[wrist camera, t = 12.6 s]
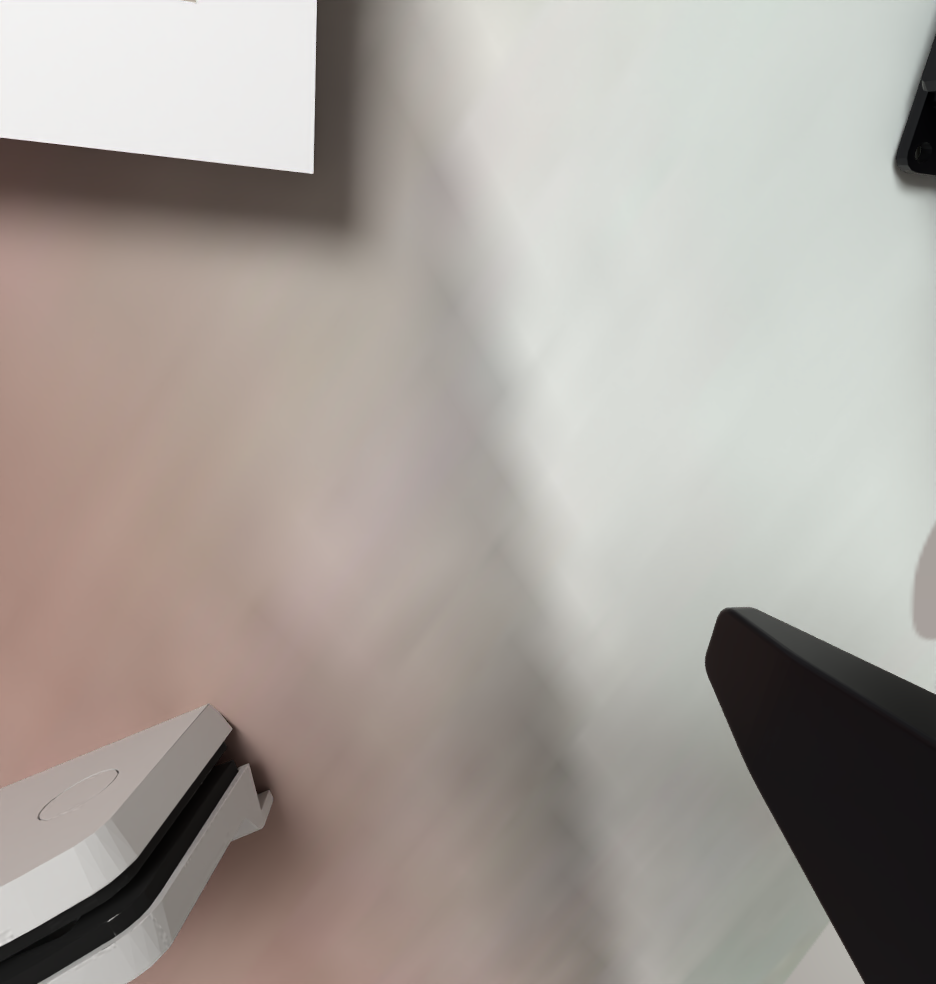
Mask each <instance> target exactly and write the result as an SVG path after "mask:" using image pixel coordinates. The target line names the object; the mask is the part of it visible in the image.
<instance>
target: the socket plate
mask: <svg viewBox="0 0 936 984" xmlns="http://www.w3.org/2000/svg"><path fill="white" fill-rule="evenodd" d="M316 16H317V0H196V3H194V2H188V1H182V0H0V137H1V138H10V139H18V140H27V141H35V142H44V143H53V144H61V145H70V146H78V147H87V148H96V149H104V150H113V151H121V152H130V153H138V154H147V155H156V156H164V157H173V158H181V159H190V160H199V161H207V162H216V163H224V164H233V165H242V166H250V167H259V168H267V169H276V170H284V171H293V172H302V173H310V174H313V171H314V119H315V68H316Z"/></svg>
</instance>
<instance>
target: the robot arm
mask: <svg viewBox="0 0 936 984" xmlns="http://www.w3.org/2000/svg"><path fill="white" fill-rule="evenodd" d="M919 146H920V147H921V152H920V155H919V157H918V159H917V160H916V159H915V153H916V150H917V148H918V147H919ZM896 160H897V165H898V167H899V168H900V170H902V171H904V172H907V173H914V174H921V175H928V176H935V177H936V36H935V39H934V42H933V45H932V48H931V51H930V54H929V57H928V60H927V63H926V66H925V69H924V72H923V75H922V78H921V81H920V84H919V87H918V90H917V93H916V96H915V99H914V102H913V105H912V108H911V111H910V114H909V117H908V120H907V123H906V126H905V129H904V132H903V135H902V138H901V141H900V145H899V148H898V151H897V156H896ZM705 667H706V672H707V675H708V678H709V680H710V682H711V685H712V687H713V689H714V692H715V694H716V696H717V699H718V701H719V703H720V706H721V708H722V710H723V713H724V715H725V717H726V720H727V722H728V724H729V727H730V729H731V731H732V734H733V736H734V738H735V741H736V743H737V745H738V748H739V750H740V752H741V755H742V757H743V759H744V761H745V764H746V766H747V768H748V770H749V772H750V774H751V776H752V778H753V780H754V782H755V784H756V786H757V788H758V790H759V791H760V793H761V795H762V797H763V799H764V801H765V802H766V804H767V806H768V808H769V810H770V811H771V813H772V815H773V817H774V819H775V821H776V822H777V824H778V826H779V828H780V830H781V832H782V833H783V835H784V837H785V839H786V841H787V842H788V844H789V846H790V848H791V850H792V852H793V853H794V855H795V857H796V859H797V861H798V863H799V864H800V866H801V868H802V870H803V872H804V873H805V875H806V877H807V879H808V881H809V883H810V884H811V886H812V888H813V890H814V892H815V894H816V895H817V897H818V899H819V901H820V903H821V905H822V906H823V908H824V910H825V912H826V914H827V915H828V917H829V919H830V921H831V923H832V925H833V926H834V928H835V930H836V932H837V934H838V935H839V937H840V939H841V941H842V943H843V945H844V946H845V948H846V950H847V952H848V954H849V956H850V957H851V959H852V961H853V963H854V965H855V967H856V968H857V970H858V972H859V974H860V976H861V978H862V979H863V981H864V983H865V984H936V694H934V693H931V692H929V691H927V690H925V689H923V688H921V687H919V686H917V685H915V684H913V683H911V682H908V681H906V680H904V679H902V678H900V677H898V676H896V675H894V674H892V673H890V672H887V671H885V670H883V669H881V668H879V667H877V666H875V665H873V664H871V663H869V662H866V661H864V660H862V659H860V658H858V657H856V656H854V655H852V654H850V653H848V652H845V651H843V650H841V649H839V648H837V647H835V646H833V645H831V644H829V643H827V642H825V641H822V640H820V639H818V638H816V637H814V636H812V635H810V634H808V633H806V632H804V631H801V630H799V629H797V628H795V627H793V626H791V625H789V624H787V623H785V622H783V621H780V620H778V619H776V618H774V617H772V616H770V615H768V614H766V613H764V612H762V611H759V610H757V609H755V608H751V607H731V608H725V609H723V610H722V611H721V612H720V613H719V615H718V617H717V620H716V623H715V627H714V630H713V633H712V636H711V640H710V643H709V646H708V649H707V652H706V656H705Z"/></svg>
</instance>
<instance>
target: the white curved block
mask: <svg viewBox="0 0 936 984" xmlns="http://www.w3.org/2000/svg"><path fill="white" fill-rule="evenodd" d="M231 731H232V728H231V726H230V725H229V724H228V722H227V721H226V720H225V719H224V717H223V716H222V715H221V713H220V712H219V711H218V710H216V709H215V708H214V707H213V706H212V705H210V704H207V705H204V706H202V707H199V708H197V709H194V710H192V711H190V712H187V713H185V714H182V715H180V716H177V717H175V718H172V719H170V720H167V721H165V722H163V723H160V724H158V725H155V726H153V727H150V728H148V729H145V730H143V731H141V732H138V733H136V734H133V735H131V736H128V737H126V738H123V739H121V740H118V741H116V742H114V743H111V744H109V745H106V746H104V747H101V748H99V749H96V750H94V751H91V752H89V753H87V754H84V755H82V756H79V757H77V758H74V759H72V760H69V761H67V762H65V763H62V764H60V765H57V766H55V767H52V768H50V769H47V770H45V771H42V772H40V773H38V774H35V775H33V776H30V777H28V778H25V779H23V780H20V781H18V782H15V783H13V784H11V785H8V786H6V787H3V788H1V789H0V984H127V983H128V982H130V981H132V980H133V979H135V978H136V977H138V976H139V975H140V974H142V973H143V972H144V971H146V970H147V969H148V968H150V967H151V966H152V965H153V964H154V963H155V962H156V961H157V960H158V959H159V958H160V957H161V956H162V955H163V954H164V953H165V952H166V951H167V949H168V948H169V947H170V946H171V944H172V943H173V941H174V939H175V938H176V936H177V934H178V933H179V931H180V929H181V927H182V926H183V924H184V922H185V920H186V919H187V917H188V915H189V913H190V912H191V910H192V908H193V906H194V905H195V903H196V901H197V899H198V898H199V896H200V894H201V892H202V891H203V889H204V887H205V886H206V884H207V882H208V880H209V879H210V877H211V875H212V873H213V872H214V870H215V868H216V866H217V865H218V863H219V861H220V859H221V858H222V856H223V854H224V852H225V851H226V849H227V847H228V846H229V844H230V842H231V841H233V840H236V839H238V838H241V837H243V836H246V835H248V834H250V833H253V832H255V831H258V830H260V829H262V828H263V827H264V825H265V822H266V820H267V817H268V814H269V811H270V808H271V806H272V803H273V797H272V794H271V792H270V790H267V791H265V792H262V793H260V794H257V792H256V789H255V785H254V781H253V777H252V773H251V769H250V765H249V763H248V764H245V765H243V766H240V767H238V768H237V766H236V764H235V762H234V760H231V761H229V762H226V763H224V764H221V765H219V766H216V767H214V765H215V764H216V763H217V761H218V760H219V758H220V757H221V756H222V754H223V753H224V751H225V750H226V749H227V746H226V744H225V742H224V740H225V739H226V737H227V736H228V735H229V733H230V732H231ZM213 767H214V768H213Z"/></svg>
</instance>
